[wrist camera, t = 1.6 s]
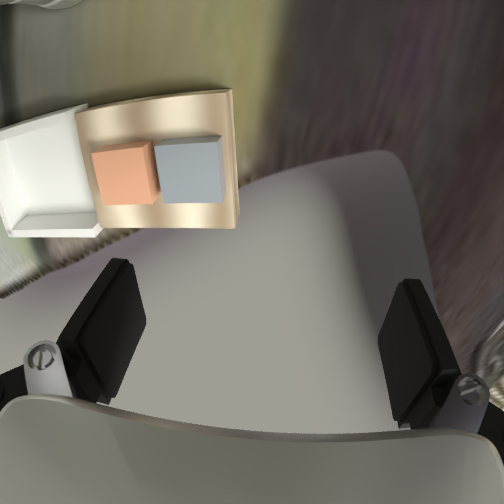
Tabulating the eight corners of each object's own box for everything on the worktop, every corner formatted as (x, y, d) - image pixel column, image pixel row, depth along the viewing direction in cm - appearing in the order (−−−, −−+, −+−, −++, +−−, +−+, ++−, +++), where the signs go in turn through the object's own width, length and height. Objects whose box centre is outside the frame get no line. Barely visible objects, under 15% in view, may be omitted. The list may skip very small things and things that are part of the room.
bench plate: (231, 88, 25) (225, 92, 22) (239, 212, 31) (234, 228, 29) (91, 107, 26) (74, 114, 24) (113, 213, 33) (100, 228, 30)
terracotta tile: (151, 140, 25) (142, 147, 23) (160, 193, 28) (152, 203, 26) (102, 146, 25) (91, 153, 24) (113, 196, 28) (103, 205, 26)
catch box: (88, 103, 26) (64, 111, 23) (112, 217, 33) (95, 237, 30) (0, 128, 27) (-22, 139, 24) (26, 220, 35) (9, 237, 31)
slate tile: (222, 135, 24) (217, 142, 23) (226, 192, 27) (222, 202, 25) (163, 139, 25) (154, 146, 23) (170, 193, 28) (163, 203, 26)
